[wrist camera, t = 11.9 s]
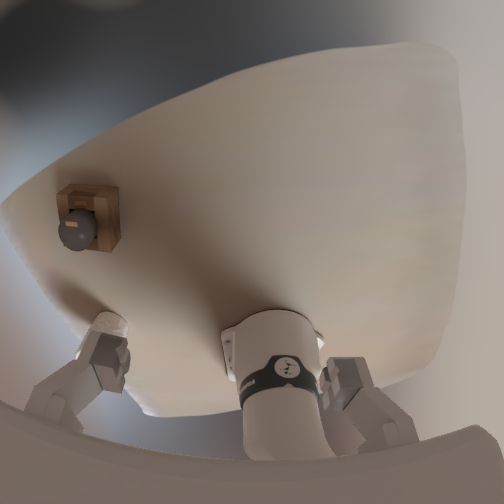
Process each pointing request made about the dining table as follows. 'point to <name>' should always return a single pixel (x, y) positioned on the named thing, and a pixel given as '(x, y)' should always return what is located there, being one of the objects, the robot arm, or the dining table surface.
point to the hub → (104, 207)
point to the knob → (78, 229)
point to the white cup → (107, 326)
